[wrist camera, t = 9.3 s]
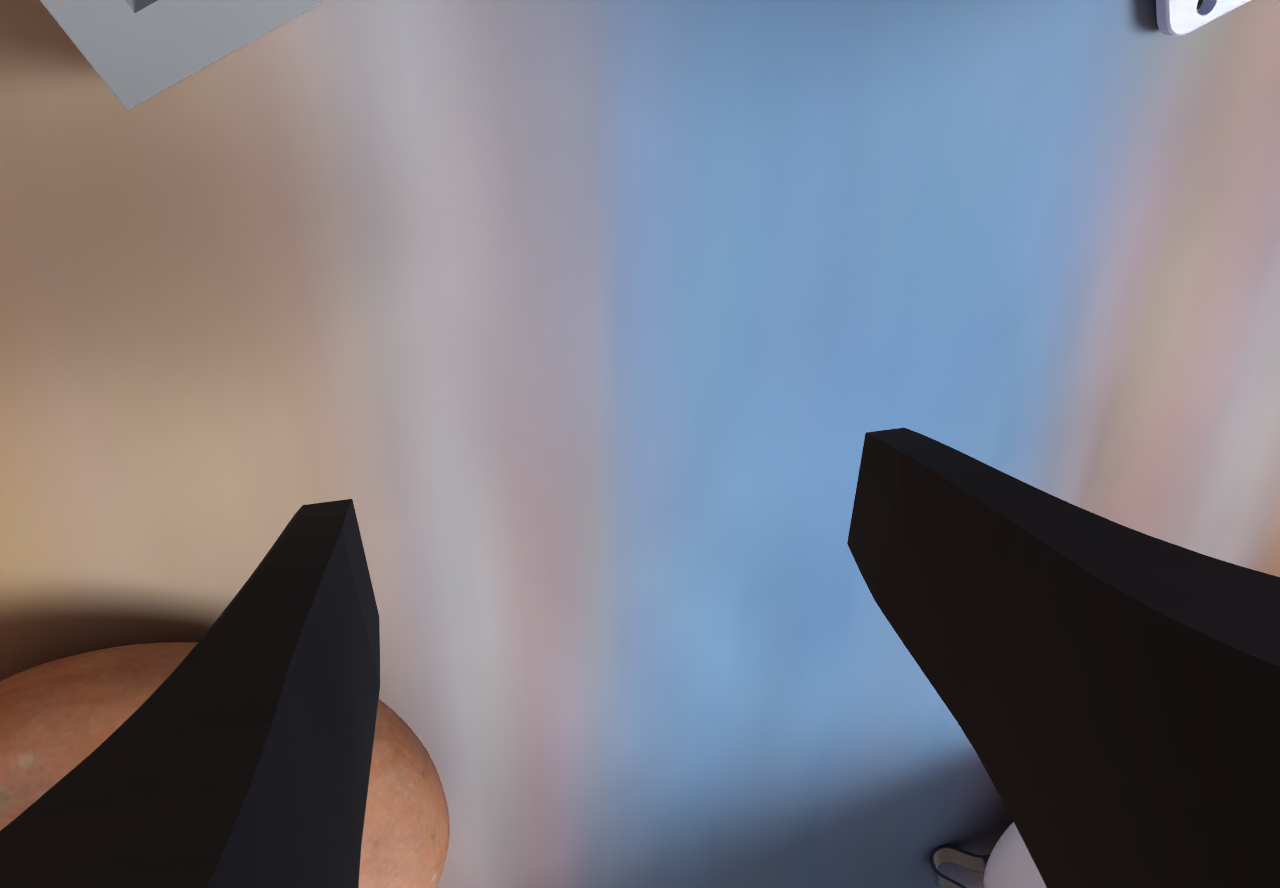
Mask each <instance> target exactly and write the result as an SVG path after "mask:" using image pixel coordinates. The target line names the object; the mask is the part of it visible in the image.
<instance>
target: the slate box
mask: <svg viewBox="0 0 1280 888" xmlns="http://www.w3.org/2000/svg"><path fill="white" fill-rule="evenodd" d="M40 1H41V2H42V3H43V5H44V6H45V7H46V8H47V10H48V11H49V12H50V14H51V15H52V16H53V17H54V19H55V20H56V21H57V22H58V24H59V25H60V26H61V28H62V29H63V30H64V31H65V33H66V34H67V35H68V36H69V38H70V39H71V40H72V41H73V43H74V44H75V45H76V47H77V48H78V49H79V50H80V52H81V53H82V54H83V55H84V57H85V58H86V59H87V60H88V62H89V63H90V64H91V66H92V67H93V68H94V69H95V71H96V72H97V73H98V74H99V76H100V77H101V78H102V79H103V81H104V82H105V83H106V85H107V86H108V87H109V88H110V90H111V91H112V92H113V93H114V95H115V96H116V97H117V98H118V100H119V101H120V102H121V104H122V105H123V106H124V107H125V109H126V110H129V109H131V108H133V107H134V106H136V105H138V104H140V103H142V102H143V101H145V100H147V99H149V98H151V97H152V96H154V95H156V94H158V93H160V92H161V91H163V90H165V89H167V88H169V87H170V86H172V85H174V84H176V83H178V82H179V81H181V80H183V79H185V78H187V77H189V76H190V75H192V74H194V73H196V72H198V71H199V70H201V69H203V68H205V67H207V66H208V65H210V64H212V63H214V62H216V61H217V60H219V59H221V58H223V57H225V56H226V55H228V54H230V53H232V52H234V51H235V50H237V49H239V48H241V47H243V46H244V45H246V44H248V43H250V42H252V41H253V40H255V39H257V38H259V37H261V36H262V35H264V34H266V33H268V32H270V31H271V30H273V29H275V28H277V27H279V26H280V25H282V24H284V23H286V22H288V21H289V20H291V19H293V18H295V17H297V16H298V15H300V14H302V13H304V12H306V11H307V10H309V9H311V8H313V7H315V6H317V5H318V4H320V3H322V2H324V1H326V0H40Z"/></svg>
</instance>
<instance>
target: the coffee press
mask: <svg viewBox="0 0 1280 888" xmlns="http://www.w3.org/2000/svg"><path fill="white" fill-rule="evenodd" d="M944 862H951V863H955V864H958V865H960V866H963V867H965V868H968V869H971V870H974V871H978V872H985V873H984V879H983V888H1047V887H1046V885H1045V883H1044V881H1043V879H1042V877H1041V875H1040V873H1039V871H1038V869H1037V867H1036V865H1035V863H1034V861H1033V859H1032V857H1031V855H1030V853H1029V851H1028V849H1027V847H1026V845H1025V843H1024V841H1023V839H1022V837H1021V835H1020V833H1019V831H1018V829H1017V827H1016V825H1015V823H1014V822H1013V823H1012V824H1011V825H1010V826H1009V827H1008V828H1007V830H1006V831H1005V832H1004V833H1003V835H1002V836H1001V837H1000V839H999V840H998V842H997V843H996V845H995V847H994V849H993V850H992V852H991V855H976V854H972V853H969V852H966V851H964V850H961V849H958V848H956V847H953V846H948V845H943V846H939V847H937V848H936V849H934V851H933V852H932V854H931V857H930V863H931V869H932V876H933V880H934V882H935V883H936V885H937V886H938V887H939V888H966V887H965V886H963V885H961V884H960V883H958V882H956V881H954V880H952V879H950V878H948V877H946V876H944V875H943V874H941V873H940V872H939V871H938V870H937V867H938V866H939V865H940V864H942V863H944Z"/></svg>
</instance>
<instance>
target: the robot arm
mask: <svg viewBox="0 0 1280 888" xmlns="http://www.w3.org/2000/svg"><path fill="white" fill-rule="evenodd" d="M1249 1H1251V0H1203V3H1202V5H1201V6H1200V8H1199V9H1198V10H1197V9H1196V8H1197V3H1198V0H1156V12H1157V24H1158V28H1159V30H1160V31H1161V32H1162V33H1163V34H1166V35H1172V36H1182V35H1186V34H1188V33H1190V32H1192V31H1194V30H1195V29H1197V28H1199V27H1201V26H1203V25H1205V24H1207V23H1209V22H1211V21H1213V20H1214V19H1216V18H1218V17H1220V16H1222V15H1224V14H1226V13H1228V12H1230V11H1232V10H1233V9H1235V8H1237V7H1239V6H1241V5H1243V4H1245V3H1247V2H1249ZM847 544H848V546H849V548H850V550H851V553H852V555H853V557H854V559H855V561H856V563H857V565H858V568H859V570H860V572H861V574H862V576H863V578H864V580H865V582H866V584H867V586H868V588H869V590H870V592H871V594H872V596H873V598H874V600H875V601H876V603H877V604H878V606H879V607H880V609H881V610H882V612H883V614H884V615H885V617H886V618H887V620H888V621H889V623H890V624H891V625H892V627H893V628H894V630H895V631H896V633H897V634H898V636H899V637H900V639H901V640H902V642H903V643H904V645H905V646H906V648H907V649H908V651H909V652H910V654H911V655H912V656H913V658H914V659H915V661H916V662H917V664H918V665H919V667H920V668H921V670H922V671H923V672H924V674H925V675H926V677H927V678H928V680H929V681H930V683H931V684H932V686H933V687H934V688H935V690H936V691H937V693H938V694H939V696H940V697H941V699H942V700H943V702H944V703H945V704H946V706H947V707H948V709H949V710H950V712H951V713H952V715H953V716H954V718H955V719H956V721H957V722H958V724H959V725H960V727H961V728H962V730H963V732H964V733H965V735H966V736H967V738H968V740H969V741H970V743H971V744H972V746H973V748H974V749H975V751H976V753H977V754H978V756H979V758H980V760H981V762H982V764H983V765H984V767H985V769H986V771H987V773H988V775H989V777H990V778H991V780H992V782H993V784H994V786H995V788H996V789H997V791H998V793H999V795H1000V797H1001V799H1002V800H1003V802H1004V804H1005V806H1006V808H1007V810H1008V812H1009V813H1010V815H1011V817H1012V819H1013V821H1014V823H1015V825H1016V827H1017V829H1018V831H1019V833H1020V835H1021V837H1022V839H1023V841H1024V843H1025V845H1026V847H1027V849H1028V851H1029V853H1030V855H1031V857H1032V859H1033V861H1034V863H1035V865H1036V867H1037V869H1038V871H1039V873H1040V875H1041V877H1042V879H1043V881H1044V883H1045V885H1046V887H1047V888H1280V577H1276V576H1273V575H1269V574H1266V573H1262V572H1259V571H1255V570H1252V569H1248V568H1244V567H1241V566H1237V565H1234V564H1231V563H1228V562H1225V561H1221V560H1218V559H1215V558H1212V557H1209V556H1206V555H1203V554H1200V553H1197V552H1194V551H1191V550H1188V549H1185V548H1183V547H1180V546H1177V545H1174V544H1171V543H1168V542H1165V541H1163V540H1160V539H1157V538H1154V537H1151V536H1148V535H1146V534H1143V533H1140V532H1138V531H1135V530H1133V529H1130V528H1127V527H1125V526H1122V525H1120V524H1117V523H1115V522H1113V521H1110V520H1108V519H1105V518H1103V517H1101V516H1098V515H1096V514H1094V513H1091V512H1089V511H1086V510H1084V509H1082V508H1079V507H1077V506H1075V505H1072V504H1070V503H1068V502H1066V501H1063V500H1061V499H1059V498H1057V497H1054V496H1052V495H1050V494H1048V493H1046V492H1043V491H1041V490H1039V489H1037V488H1035V487H1033V486H1031V485H1028V484H1026V483H1024V482H1022V481H1020V480H1018V479H1016V478H1014V477H1011V476H1009V475H1007V474H1005V473H1003V472H1001V471H999V470H997V469H995V468H993V467H991V466H989V465H986V464H984V463H982V462H980V461H978V460H976V459H974V458H972V457H970V456H968V455H966V454H964V453H962V452H959V451H957V450H955V449H953V448H951V447H949V446H947V445H944V444H942V443H940V442H938V441H936V440H933V439H931V438H929V437H927V436H924V435H922V434H919V433H917V432H914V431H911V430H909V429H906V428H899V429H891V430H883V431H875V432H868V433H866V434H865V440H864V446H863V452H862V458H861V464H860V470H859V476H858V482H857V488H856V495H855V501H854V507H853V513H852V519H851V525H850V531H849V537H848V543H847ZM379 689H380V641H379V614H378V610H377V606H376V601H375V597H374V592H373V588H372V584H371V579H370V575H369V571H368V566H367V562H366V557H365V553H364V549H363V544H362V540H361V536H360V531H359V527H358V522H357V518H356V514H355V509H354V505H353V501H352V499H348V500H340V501H332V502H325V503H317V504H309V505H303V506H302V507H301V508H300V509H299V510H298V511H297V513H296V514H295V515H294V516H293V518H292V519H291V521H290V522H289V523H288V525H287V526H286V528H285V529H284V531H283V532H282V533H281V535H280V536H279V538H278V539H277V541H276V542H275V543H274V545H273V546H272V548H271V549H270V550H269V552H268V553H267V555H266V556H265V557H264V559H263V560H262V562H261V563H260V564H259V566H258V567H257V568H256V570H255V571H254V573H253V574H252V575H251V577H250V578H249V579H248V581H247V582H246V583H245V584H244V586H243V587H242V588H241V590H240V591H239V592H238V594H237V595H236V596H235V597H234V599H233V600H232V601H231V603H230V604H229V605H228V606H227V608H226V609H225V610H224V612H223V613H222V614H221V616H220V617H219V618H218V619H217V621H216V622H215V623H214V624H213V625H212V627H211V628H210V629H209V630H208V631H207V633H206V634H205V635H204V636H203V637H202V638H201V640H200V641H199V642H198V643H197V644H196V645H195V646H194V648H193V649H192V650H191V651H190V652H189V653H188V655H187V656H186V657H185V658H184V659H183V660H182V662H181V663H180V664H179V665H178V666H177V667H176V669H175V670H174V671H173V672H172V673H171V674H170V675H169V676H168V678H167V679H166V680H165V681H164V682H163V683H162V684H161V685H160V686H159V687H158V688H157V689H156V690H155V692H154V693H153V694H152V695H151V696H150V697H149V698H148V699H147V700H146V701H145V702H144V703H143V704H142V705H141V706H140V707H139V708H138V709H137V710H136V711H135V712H134V713H133V714H132V715H131V716H130V717H129V718H128V719H127V720H126V721H125V722H124V723H123V724H122V725H121V726H120V727H119V728H118V729H117V730H116V731H115V732H113V733H112V734H111V735H110V736H109V737H108V738H107V739H106V740H105V741H104V742H103V743H102V744H101V745H100V746H99V747H98V748H97V749H95V750H94V751H93V752H92V753H91V754H90V755H89V756H88V757H86V758H85V759H84V760H83V761H82V762H81V763H79V764H78V765H77V766H76V767H75V768H74V769H73V770H71V771H70V772H69V773H68V774H67V775H66V776H64V777H63V778H62V779H61V780H60V781H59V782H57V783H56V784H55V785H54V786H53V787H52V788H50V789H49V790H48V791H47V792H46V793H45V794H43V795H42V796H41V797H40V798H39V799H38V800H36V801H35V802H34V803H33V804H32V805H31V806H29V807H28V808H27V809H26V810H25V811H24V812H22V813H21V814H20V815H19V816H18V817H17V818H16V819H14V820H13V821H12V822H11V823H9V824H8V825H7V826H6V827H4V828H3V829H2V830H1V831H0V888H359V871H360V858H361V845H362V836H363V828H364V819H365V811H366V802H367V794H368V785H369V777H370V768H371V760H372V751H373V743H374V734H375V725H376V716H377V707H378V698H379Z"/></svg>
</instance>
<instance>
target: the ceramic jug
mask: <svg viewBox="0 0 1280 888" xmlns="http://www.w3.org/2000/svg"><path fill="white" fill-rule="evenodd" d="M197 643H198V642H164V643H146V644H135V645H126V646H119V647H112V648H107V649H100V650H95V651H90V652H86V653H81V654H77V655H72V656H69V657H65V658H61V659H58V660H54V661H51V662H48V663H44V664H41V665H38V666H35V667H32V668H30V669H27V670H25V671H22V672H20V673H17V674H15V675H12V676H10V677H8V678H5V679H3V680H1V681H0V831H1V830H2V829H3V828H4V827H6V826H7V825H8V824H9V823H11V822H12V821H13V820H14V819H16V818H17V817H18V816H19V815H20V814H21V813H22V812H24V811H25V810H26V809H27V808H28V807H29V806H31V805H32V804H33V803H34V802H35V801H36V800H38V799H39V798H40V797H41V796H42V795H43V794H45V793H46V792H47V791H48V790H49V789H50V788H52V787H53V786H54V785H55V784H56V783H57V782H59V781H60V780H61V779H62V778H63V777H64V776H66V775H67V774H68V773H69V772H70V771H71V770H73V769H74V768H75V767H76V766H77V765H78V764H79V763H81V762H82V761H83V760H84V759H85V758H86V757H88V756H89V755H90V754H91V753H92V752H93V751H94V750H95V749H97V748H98V747H99V746H100V745H101V744H102V743H103V742H104V741H105V740H106V739H107V738H108V737H109V736H110V735H111V734H112V733H113V732H115V731H116V730H117V729H118V728H119V727H120V726H121V725H122V724H123V723H124V722H125V721H126V720H127V719H128V718H129V717H130V716H131V715H132V714H133V713H134V712H135V711H136V710H137V709H138V708H139V707H140V706H141V705H142V704H143V703H144V702H145V701H146V700H147V699H148V698H149V697H150V696H151V695H152V694H153V693H154V692H155V690H156V689H157V688H158V687H159V686H160V685H161V684H162V683H163V682H164V681H165V680H166V679H167V678H168V676H169V675H170V674H171V673H172V672H173V671H174V670H175V669H176V667H177V666H178V665H179V664H180V663H181V662H182V660H183V659H184V658H185V657H186V656H187V655H188V653H189V652H190V651H191V650H192V649H193V648H194V646H195V645H196V644H197ZM448 844H449V814H448V807H447V802H446V798H445V793H444V791H443V788H442V784H441V781H440V778H439V775H438V773H437V770H436V768H435V766H434V764H433V761H432V760H431V757H430V756H429V754H428V752H427V750H426V748H425V747H424V746H423V744H422V743H421V741H420V740H419V739H418V737H417V736H416V735H415V733H414V732H413V731H412V730H411V728H410V727H409V726H408V725H407V724H406V723H405V722H404V721H403V720H402V719H401V718H400V717H399V716H398V715H397V714H396V713H395V712H394V711H393V710H392V709H391V708H389V707H388V706H387V705H386V704H384V703H383V702H382V701H381V700H379V699H378V707H377V716H376V725H375V734H374V743H373V751H372V760H371V768H370V777H369V785H368V794H367V802H366V811H365V819H364V828H363V836H362V845H361V858H360V871H359V888H437V885H438V883H439V880H440V877H441V874H442V871H443V867H444V863H445V859H446V855H447V850H448Z"/></svg>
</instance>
